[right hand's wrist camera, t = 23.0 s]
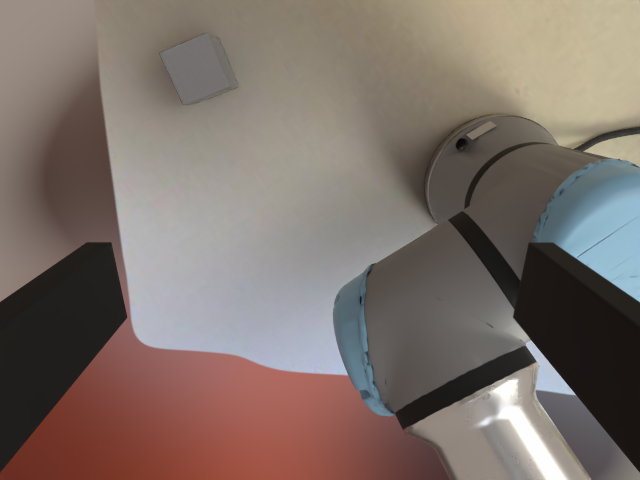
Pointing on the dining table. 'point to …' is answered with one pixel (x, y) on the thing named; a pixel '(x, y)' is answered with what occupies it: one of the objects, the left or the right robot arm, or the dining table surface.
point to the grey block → (199, 69)
